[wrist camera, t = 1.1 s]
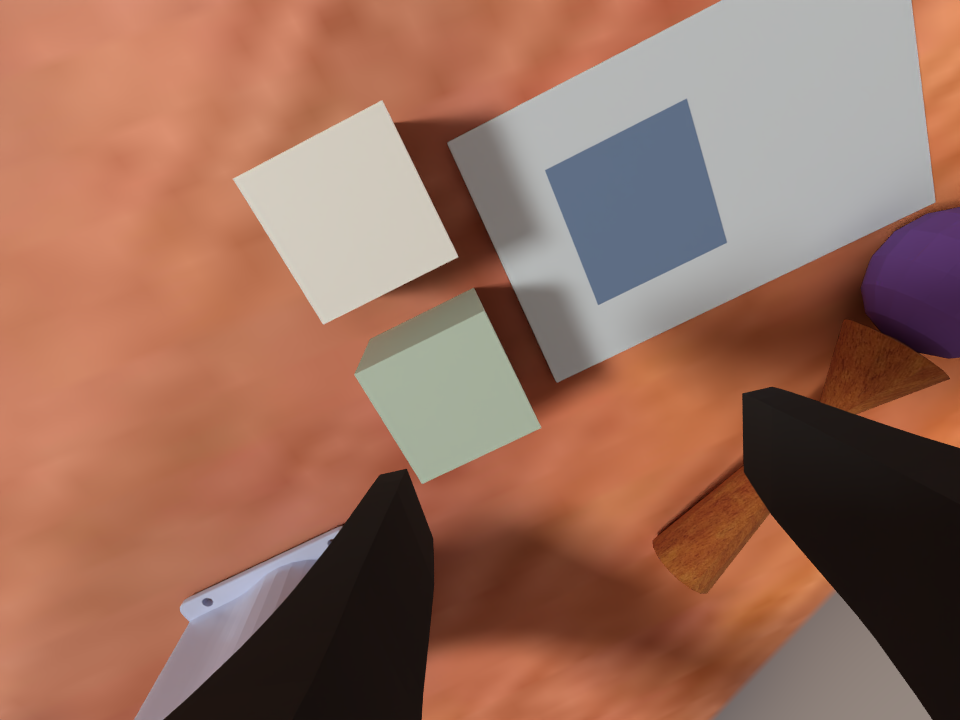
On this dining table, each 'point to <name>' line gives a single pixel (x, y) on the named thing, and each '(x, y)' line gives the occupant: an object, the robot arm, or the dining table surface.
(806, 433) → the robot arm
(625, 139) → the grey base plate
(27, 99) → the dining table surface
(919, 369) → the kendama
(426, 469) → the block base
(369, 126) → the block top
